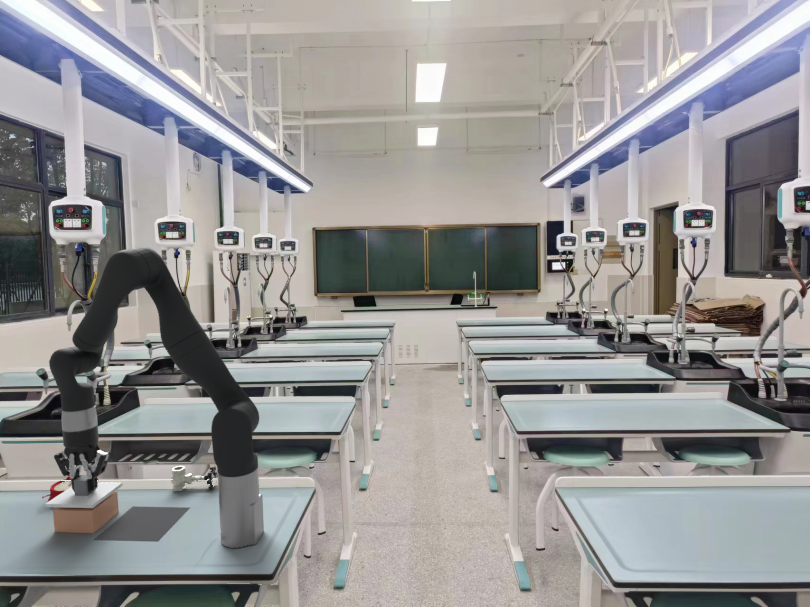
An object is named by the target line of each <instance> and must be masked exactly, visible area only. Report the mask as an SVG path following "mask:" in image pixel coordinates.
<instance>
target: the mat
mask: <svg viewBox="0 0 810 607" xmlns="http://www.w3.org/2000/svg"><path fill="white" fill-rule="evenodd" d="M190 508H191V507H187V506H186V507H184V506H183V507H180V506H179V507H177V506H174V507H173V506H135V505H134V506H131V507H130V508H129V509H128V510H127V511H125V512H124V513H123V514H122V515H120V516H119V518H117V519H116V520H115V521H113V523H112V524H110V525H109V526H107V528H105V529H104V530H103V531H102V532H101V533H100V534H98V535H97V536H96V537H95V538H93V541H116V542H117V541H122V542H125V541H126V542H129V541H130V542H132V541H133V542H159V541H160V540H162V539H163V537H164V536H165V535H166V534H167V533H168V532H169V531H170V530H171V529H172V528H173V527H174V526H175V524H177V522H178V521H179V520H180V519H181V518H182V517H183V516H184V515H185V514H186V513H187V512H188V511H189V510H190Z"/></svg>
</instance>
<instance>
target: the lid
mask: <svg viewBox="0 0 810 607" xmlns="http://www.w3.org/2000/svg"><path fill="white" fill-rule="evenodd" d="M80 475H81V476H80V477H79V478H77V479H75V480H74V490H75V492H74V490H73V489H72V487H70V488H69V489H67V490H66V491H64V492H63V493H61V494H59V495H58V496H56V497H55V498H53V499H52V500H50V501H49V502H48V501H47V502H45V503H44V507H45V508H57V507H62V508H93V507H95V506H96V505H97V504H99V503H100V502H101V501H103V500H104V499H105V498H107V497H108V496H109V495H111V494H112V493H113V492H117V490H119V489H120V488H121V487H123V485H124V484H123V482H115V481H114V482H111V481H110V482H109V481H108V482H107V481H104V482H102V481H99V482H98V487H97V488H96V490H95V491H93V492H92V493H89V492H88V481H87V479H88V477H87V474H80Z"/></svg>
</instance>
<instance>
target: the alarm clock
mask: <svg viewBox="0 0 810 607" xmlns="http://www.w3.org/2000/svg"><path fill="white" fill-rule="evenodd" d="M63 480H71V478H70V477H69V476H66V478H64V479H63ZM97 480H98V481H99V477H97ZM62 482H63V483H62ZM70 487H72V482H71V481H66V482H65V481H61V480H58V481H56V482H54V483H53V484H51V486H50V488H49V492H50V494H46V495H45V496H42V497H41V499H44V498H46V497H48V501H47V502H49V501H50V500H52V499H53V498H55V497H56V496H58V495H59V494H61V493H63V492H64V491H66V490H67V489H69V488H70Z"/></svg>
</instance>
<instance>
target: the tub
mask: <svg viewBox="0 0 810 607" xmlns="http://www.w3.org/2000/svg"><path fill="white" fill-rule="evenodd" d="M118 497H119V496H118V491H115V492H113V493H112V494H111V495H109V496H108V497H107V498H105V499H104V500H103V501H101V502H100V503H99V504H97V505H96V506H95V507H93V508H62V507H54V509H53V510H52V516H53V517H52V518H53V528H54V533H77V534H79V533H84V534H85V533H86V534H87V533H88V534H94V533H96V531H98V530H99V529H100V528H102V527H103V526H104V525H105V524H106V523H107V522H109V521H110V520H111V519H113V517H115V516H116V515H117V514H118V513H120V511H119V498H118Z"/></svg>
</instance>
